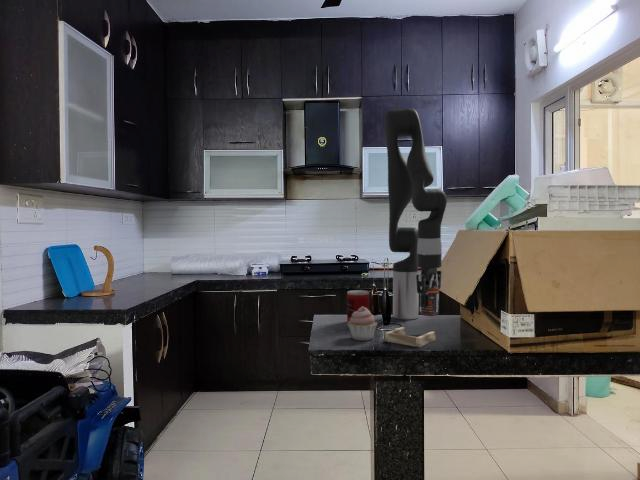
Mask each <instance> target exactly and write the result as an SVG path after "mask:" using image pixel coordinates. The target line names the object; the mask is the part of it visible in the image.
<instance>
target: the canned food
mask: <svg viewBox="0 0 640 480" xmlns="http://www.w3.org/2000/svg"><path fill="white" fill-rule="evenodd" d="M362 306H363V307H365V308H367V309H368V310H369V311H370V291H369V290H364V289H359V290H358V289H355V290H348V291H347V292H346V322H347V323H348V322H350V318H351V316H352V314H353V312H356V311H358V309H359V308H361V307H362Z"/></svg>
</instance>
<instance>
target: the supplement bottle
mask: <svg viewBox="0 0 640 480" xmlns="http://www.w3.org/2000/svg"><path fill="white" fill-rule="evenodd" d="M426 285H428V284H426ZM420 289H421V287H420ZM428 295H429V305H428V307H422V306H421V295H420V294H419V314H420V315H421V316H426V317H436V316H438V315H439V311H440V309H439V308H440V307H439V306H440V305H439V304H440V289H439V288H438V287H437V286H436V280H435V279H434V280H433V281H432V286H431V288H430V289H429V294H428Z"/></svg>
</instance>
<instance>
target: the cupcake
mask: <svg viewBox="0 0 640 480" xmlns="http://www.w3.org/2000/svg"><path fill="white" fill-rule="evenodd" d="M346 324H347V326H348V328H349V331H350V335H351V338H352V339H353V340H355V341H361V342H367V341H371V340H373V338H374V335H375V330H376V328H377V326H378V322H376V321H375V316H374V315H373V314H372V313H371V311H370V309H369V310H368V309H367V308H365V307H363V306H362V307H361V308H359V309H358V311H356V312H353V314H352V316H351V318H350V322H348V321H347V323H346Z"/></svg>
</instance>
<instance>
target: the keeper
mask: <svg viewBox="0 0 640 480" xmlns="http://www.w3.org/2000/svg"><path fill="white" fill-rule="evenodd" d="M386 341H387V343H394V344H397V345H398V344H399V345H405V346H411V347H417V348H421V347H423V346H425V345H427V344H430V343H431V342H432V343H433V342H434V341H436V331H433V330H432V331H429V332H427V333H425V334H422V335H419V336H414V335H408V334H406V327H404V326H403V327H402V326H401V327H398V328H395V329H393V330H390V331H386V332H385V333H384V342H386Z"/></svg>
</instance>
